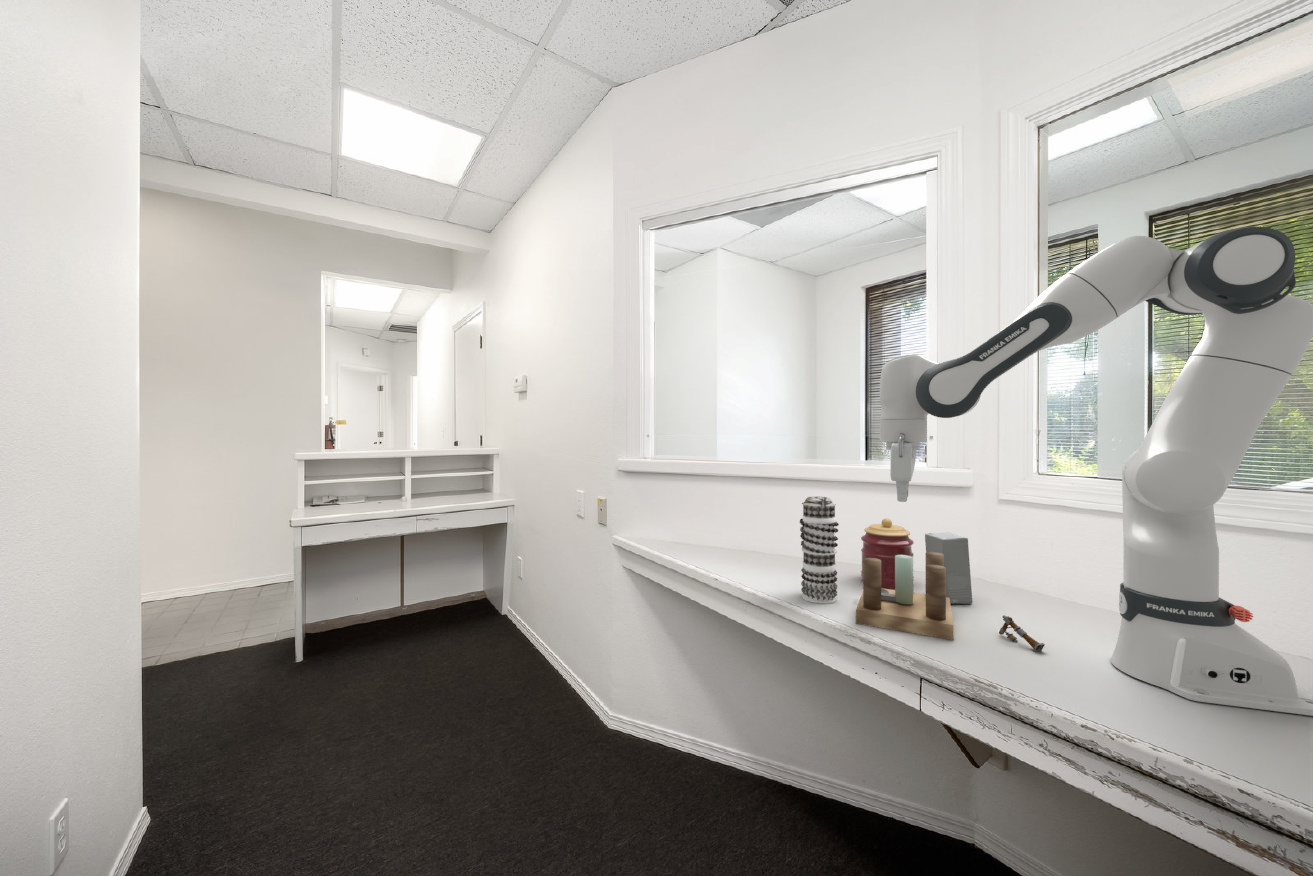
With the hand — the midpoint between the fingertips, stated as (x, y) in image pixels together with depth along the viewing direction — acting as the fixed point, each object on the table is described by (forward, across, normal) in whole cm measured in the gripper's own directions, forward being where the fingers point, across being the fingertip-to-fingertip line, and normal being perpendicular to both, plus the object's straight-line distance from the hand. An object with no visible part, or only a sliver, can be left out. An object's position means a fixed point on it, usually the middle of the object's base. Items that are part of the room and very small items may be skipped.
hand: (902, 499), depth 102 cm
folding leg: (+24, +7, +3) cm, 25 cm away
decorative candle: (+27, +11, +19) cm, 35 cm away
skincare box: (+27, +25, -9) cm, 38 cm away
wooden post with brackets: (+28, +2, -20) cm, 34 cm away
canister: (+27, +32, +5) cm, 42 cm away
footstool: (+27, +7, 0) cm, 28 cm away
